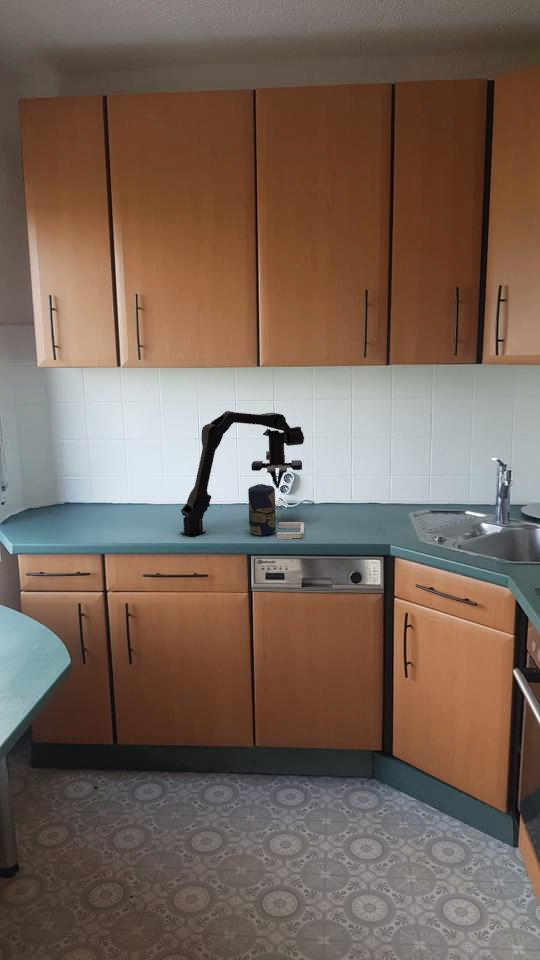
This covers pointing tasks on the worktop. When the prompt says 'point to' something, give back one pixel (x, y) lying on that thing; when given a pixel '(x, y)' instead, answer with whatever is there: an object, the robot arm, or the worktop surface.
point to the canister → (262, 509)
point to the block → (291, 534)
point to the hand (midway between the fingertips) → (277, 488)
